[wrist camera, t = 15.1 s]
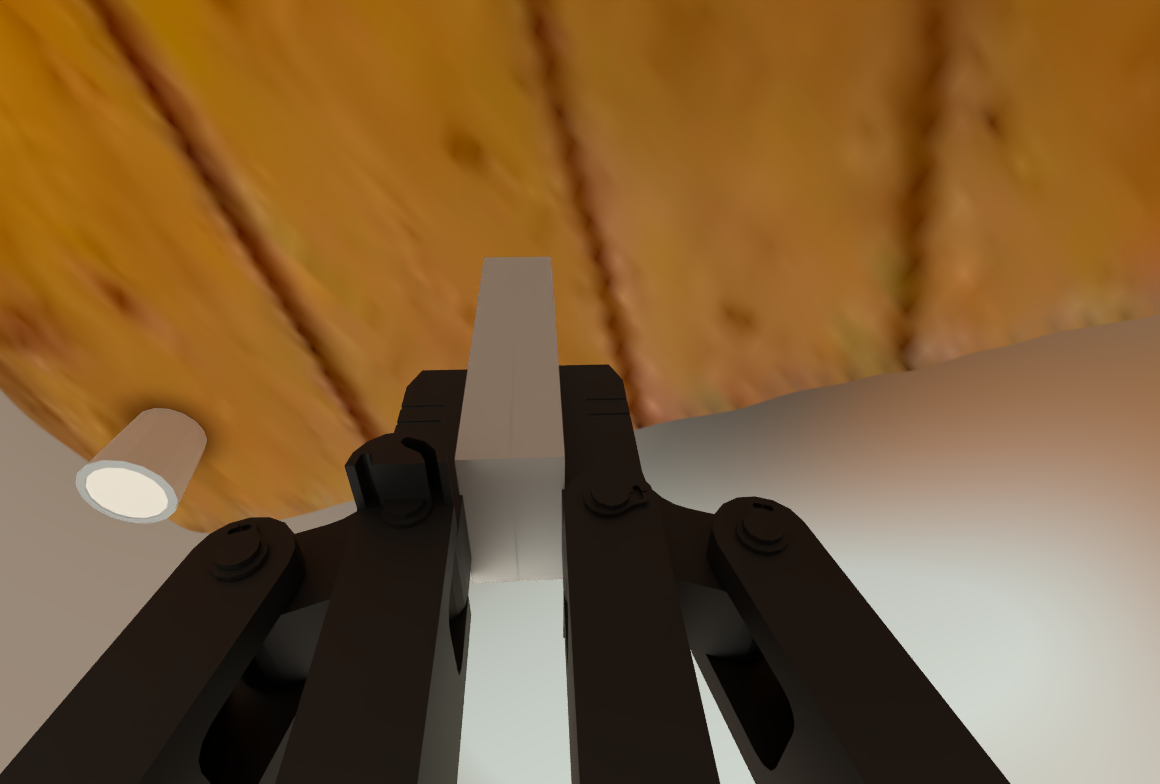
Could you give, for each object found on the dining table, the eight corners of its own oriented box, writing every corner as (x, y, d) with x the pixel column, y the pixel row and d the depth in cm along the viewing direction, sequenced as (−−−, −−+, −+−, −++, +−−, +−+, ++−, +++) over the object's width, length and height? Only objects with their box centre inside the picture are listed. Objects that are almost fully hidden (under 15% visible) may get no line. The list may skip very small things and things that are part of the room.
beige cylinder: (233, 444, 52) (197, 504, 47) (174, 473, 54) (133, 535, 48) (166, 389, 48) (119, 447, 43) (105, 422, 50) (52, 483, 44)
